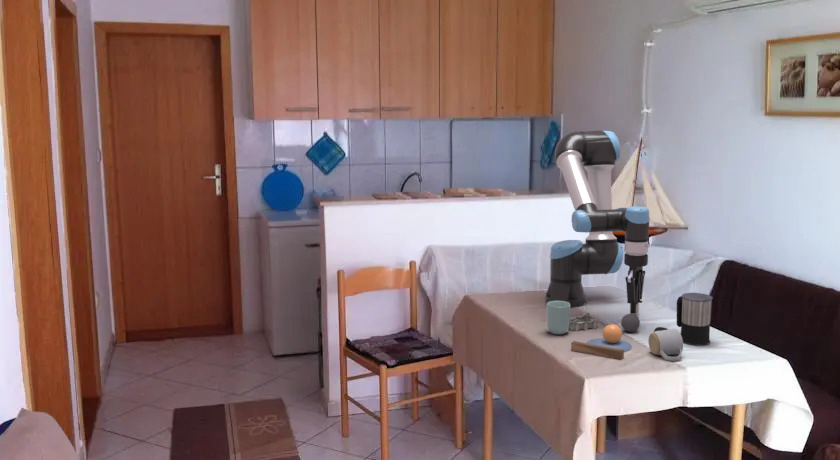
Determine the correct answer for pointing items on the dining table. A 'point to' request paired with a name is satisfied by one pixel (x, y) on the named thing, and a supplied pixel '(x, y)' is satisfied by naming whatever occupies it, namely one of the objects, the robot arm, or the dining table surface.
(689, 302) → the milk frother
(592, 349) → the wall
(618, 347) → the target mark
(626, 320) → the dark gray ball
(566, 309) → the cup
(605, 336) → the terracotta ball
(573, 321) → the egg carton
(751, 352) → the dining table surface
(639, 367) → the dining table surface
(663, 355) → the ceramic mug
